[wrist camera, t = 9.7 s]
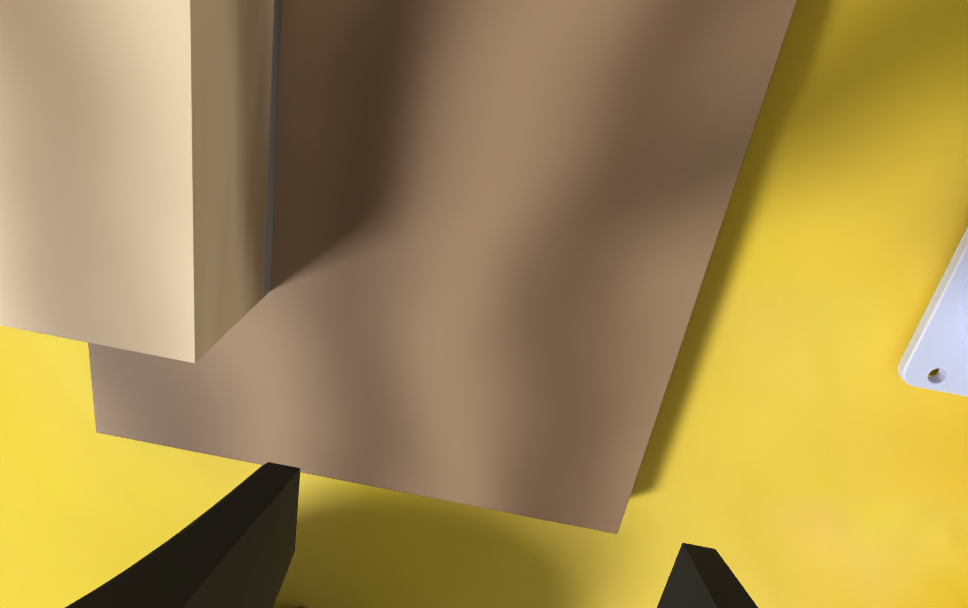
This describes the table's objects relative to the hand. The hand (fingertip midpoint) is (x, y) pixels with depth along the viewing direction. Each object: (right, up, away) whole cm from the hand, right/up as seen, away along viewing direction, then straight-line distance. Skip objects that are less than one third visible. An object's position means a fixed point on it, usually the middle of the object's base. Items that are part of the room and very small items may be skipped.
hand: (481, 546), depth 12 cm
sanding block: (-8, +9, +5) cm, 14 cm away
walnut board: (-2, +9, +7) cm, 11 cm away
